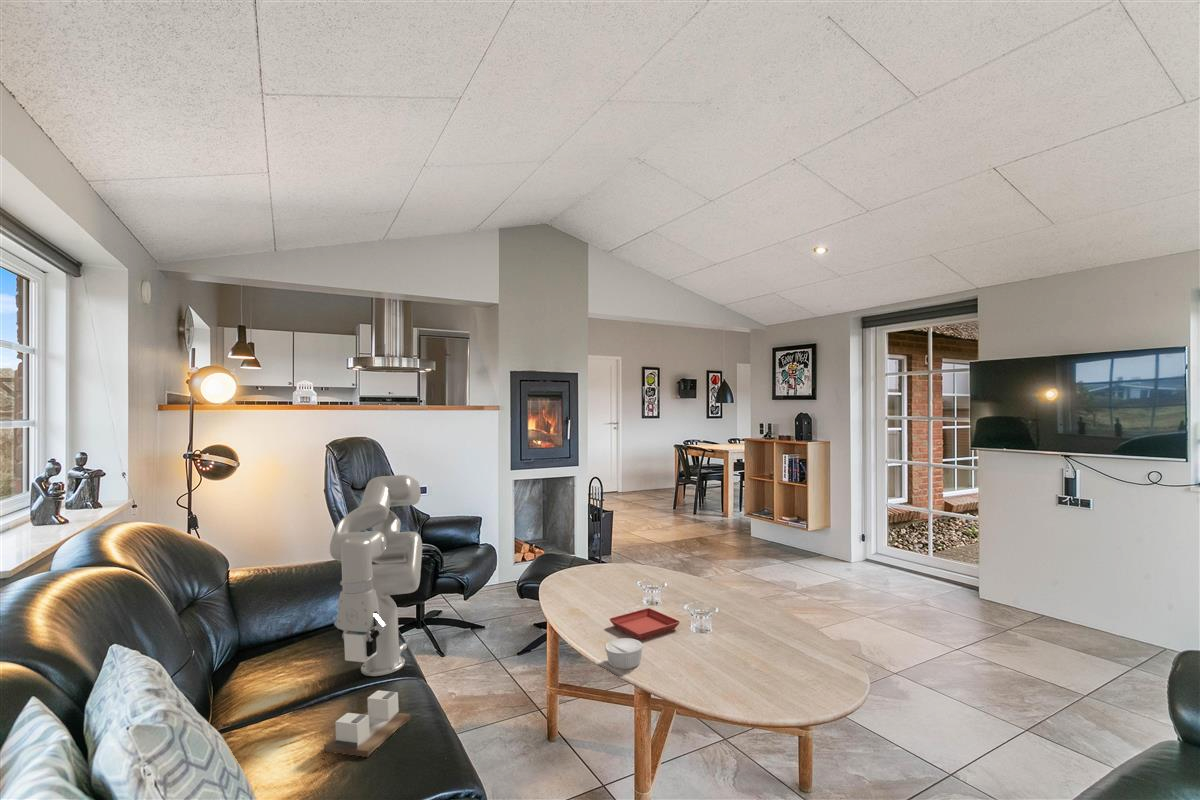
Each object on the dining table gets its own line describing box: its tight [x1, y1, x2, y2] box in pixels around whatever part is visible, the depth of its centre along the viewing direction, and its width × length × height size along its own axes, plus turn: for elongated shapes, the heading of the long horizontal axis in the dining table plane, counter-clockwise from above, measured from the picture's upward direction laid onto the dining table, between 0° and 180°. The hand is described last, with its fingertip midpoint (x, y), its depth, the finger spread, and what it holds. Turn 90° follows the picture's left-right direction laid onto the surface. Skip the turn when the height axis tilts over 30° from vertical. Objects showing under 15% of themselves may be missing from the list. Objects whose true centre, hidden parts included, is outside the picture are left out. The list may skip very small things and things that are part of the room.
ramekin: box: [604, 637, 644, 670], centre depth 171 cm, size 11×11×5 cm
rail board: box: [323, 710, 411, 756], centre depth 138 cm, size 16×12×3 cm
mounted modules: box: [334, 689, 400, 746], centre depth 138 cm, size 15×6×5 cm, turn 164°
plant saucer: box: [609, 607, 681, 641], centre depth 197 cm, size 18×18×3 cm
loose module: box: [343, 630, 377, 663], centre depth 151 cm, size 5×6×7 cm
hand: (361, 652), depth 151 cm, fingers closed on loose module, 6 cm apart
